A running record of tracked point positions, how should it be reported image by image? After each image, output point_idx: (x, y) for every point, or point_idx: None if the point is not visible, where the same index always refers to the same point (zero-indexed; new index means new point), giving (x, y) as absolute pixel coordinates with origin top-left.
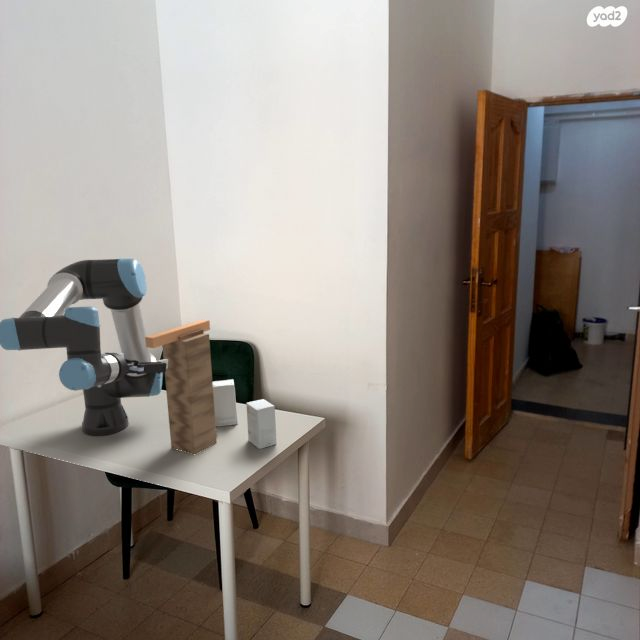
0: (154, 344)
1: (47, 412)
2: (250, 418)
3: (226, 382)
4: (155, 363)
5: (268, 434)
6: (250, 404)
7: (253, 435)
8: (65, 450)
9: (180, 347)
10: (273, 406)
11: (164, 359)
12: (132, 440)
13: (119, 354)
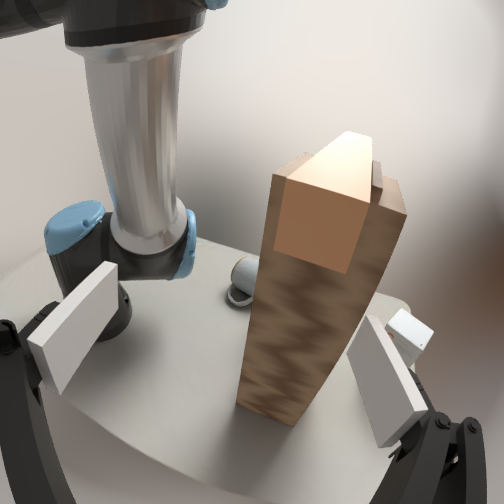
0: (354, 246)
1: (33, 264)
2: None
3: None
4: (473, 481)
5: None
6: (398, 329)
7: None
8: None
9: (365, 229)
10: (432, 332)
11: (381, 333)
12: (149, 367)
13: (91, 292)
